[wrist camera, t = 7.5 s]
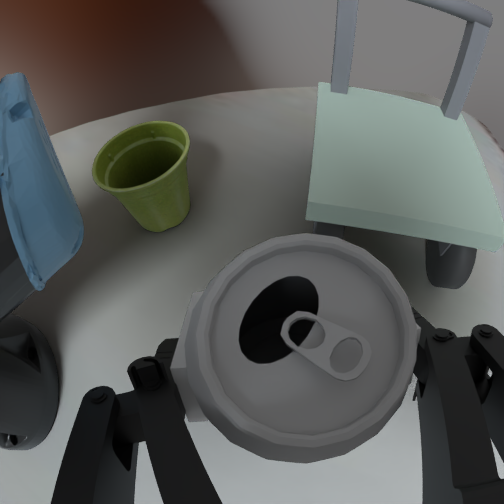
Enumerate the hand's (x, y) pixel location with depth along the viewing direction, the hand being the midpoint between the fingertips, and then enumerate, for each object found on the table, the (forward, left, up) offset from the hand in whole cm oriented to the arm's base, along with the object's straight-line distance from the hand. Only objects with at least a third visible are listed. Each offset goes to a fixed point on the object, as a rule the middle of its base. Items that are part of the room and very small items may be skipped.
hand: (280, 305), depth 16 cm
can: (+1, -3, -4) cm, 6 cm away
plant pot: (-14, +12, -10) cm, 21 cm away
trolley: (+9, +15, -10) cm, 20 cm away
